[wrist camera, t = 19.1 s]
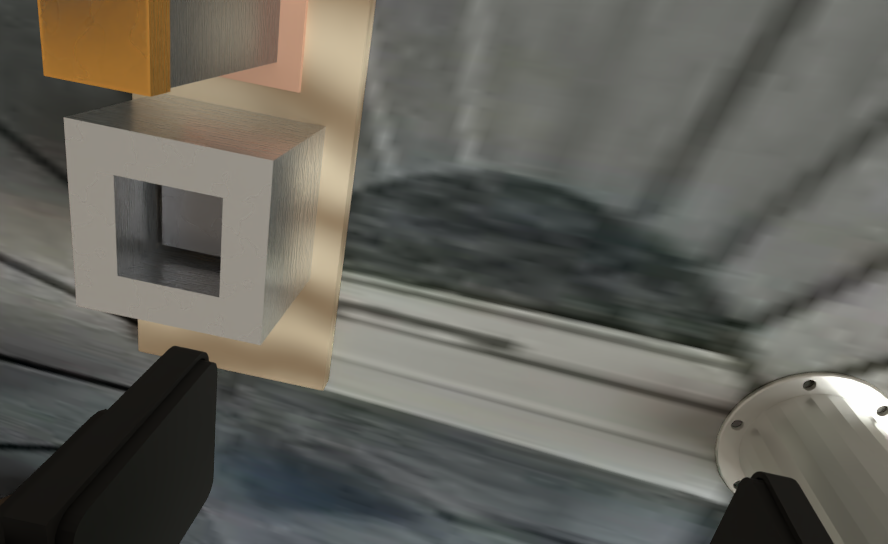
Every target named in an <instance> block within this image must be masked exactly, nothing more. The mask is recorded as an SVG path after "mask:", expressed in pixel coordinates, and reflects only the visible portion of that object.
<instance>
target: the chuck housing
mask: <svg viewBox="0 0 888 544" xmlns="http://www.w3.org/2000/svg"><path fill="white" fill-rule="evenodd" d="M325 128H326V127H325V126H320V125H315V124H310V123H305V122H300V121H295V120H290V119H286V118H281V117H276V116H271V115H266V114H261V113H256V112H251V111H247V110H242V109H237V108H232V107H227V106H222V105H217V104H212V103H208V102H203V101H198V100H193V99H188V98H183V97H178V96H174V95H169V94H160V95H156V96H152V97H149V96H146V97H142V98H138V99H134V100H130V101H126V102H122V103H118V104H114V105H110V106H106V107H102V108H98V109H94V110H90V111H86V112H82V113H78V114H74V115H70V116H67V117H64V131H65V146H66V160H67V174H68V189H69V203H70V217H71V232H72V246H73V260H74V275H75V289H76V303H77V306H79V307H84V308H89V309H93V310H98V311H103V312H107V313H112V314H117V315H121V316H126V317H131V318H135V319H140V320H145V321H149V322H154V323H159V324H163V325H168V326H173V327H177V328H182V329H187V330H191V331H196V332H201V333H205V334H210V335H215V336H219V337H224V338H229V339H233V340H238V341H243V342H247V343H252V344H257V345H261V344H262V343H263V341H264V340H265V339H266V337H267V336H268V335H269V333H270V332H271V331H272V329H273V328H274V327H275V325H276V324H277V323H278V321H279V320H280V319H281V317H282V316H283V315H284V313H285V312H286V311H287V309H288V308H289V306H290V305H291V304H292V302H293V301H294V300H295V298H296V297H297V296H298V294H299V293H300V292H301V290H302V289H303V288H304V286H305V285H306V284H307V282H308V281H309V280H310V275H311V265H312V255H313V246H314V236H315V226H316V216H317V207H318V197H319V187H320V177H321V167H322V158H323V148H324V138H325ZM162 185H163V186H168V187H173V188H178V189H183V190H187V191H192V192H197V193H202V194H207V195H211V196H216V197H221V198H223V211H222V238H221V257H219V256H214V255H209V254H204V253H200V252H195V251H190V250H186V249H181V248H176V247H171V246H167V245H162Z"/></svg>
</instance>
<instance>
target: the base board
mask: <svg viewBox="0 0 888 544" xmlns="http://www.w3.org/2000/svg"><path fill="white" fill-rule="evenodd" d="M375 4H376V0H308V11H307V23H306V35H305V47H304V59H303V70H302V82H301V92H299V93H297V92H292V91H287V90H282V89H277V88H272V87H268V86H263V85H258V84H253V83H248V82H243V81H238V80H233V79H228V78H223V77H219V76H218V77H214V78H210V79H206V80H202V81H198V82H193V83H189V84H185V85H181V86H177V87H173V88H171V92H168V93H164V94H169V95H174V96H178V97H183V98H188V99H193V100H198V101H203V102H208V103H212V104H217V105H222V106H227V107H232V108H237V109H242V110H247V111H251V112H256V113H261V114H266V115H271V116H276V117H281V118H286V119H290V120H295V121H300V122H305V123H310V124H315V125H320V126H325V127H326V128H325V138H324V148H323V158H322V167H321V177H320V187H319V197H318V207H317V216H316V226H315V236H314V246H313V255H312V265H311V275H310V280H309V281H308V282H307V284H306V285H305V286H304V288H303V289H302V290H301V292H300V293H299V294H298V296H297V297H296V298H295V300H294V301H293V302H292V304H291V305H290V306H289V308H288V309H287V311H286V312H285V313H284V315H283V316H282V317H281V319H280V320H279V321H278V323H277V324H276V325H275V327H274V328H273V329H272V331H271V332H270V333H269V335H268V336H267V337H266V339H265V340H264V341H263V343H262V344H261V345H257V344H252V343H247V342H243V341H238V340H233V339H229V338H224V337H219V336H215V335H210V334H205V333H201V332H196V331H191V330H187V329H182V328H177V327H173V326H168V325H163V324H159V323H154V322H149V321H145V320H140V319H138V346H139V351H141V352H145V353H150V354H155V355H159V356H162V355H163V354H164V353H165V352H166V351H167V350H168V349H169V348H171V347H172V346H180V347H184V348H189V349H193V350H198V351H203V352H206V353H207V354H208V357H209V361H210V362H214V363H216V365H217V368H220V369H224V370H229V371H234V372H238V373H243V374H248V375H252V376H257V377H262V378H266V379H271V380H276V381H280V382H285V383H289V384H294V385H299V386H303V387H308V388H313V389H317V390H322V391H323V390H324V388H325V386H326V384H327V382H328V380H329V372H330V364H331V356H332V348H333V340H334V332H335V324H336V316H337V308H338V300H339V292H340V284H341V276H342V268H343V260H344V252H345V244H346V236H347V228H348V220H349V212H350V204H351V196H352V188H353V180H354V172H355V164H356V156H357V148H358V140H359V132H360V124H361V116H362V108H363V100H364V92H365V84H366V76H367V68H368V60H369V52H370V44H371V36H372V28H373V20H374V12H375ZM142 97H146V96H144V95H139V94H134V93H132V99H133V100H134V99H138V98H142Z"/></svg>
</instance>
